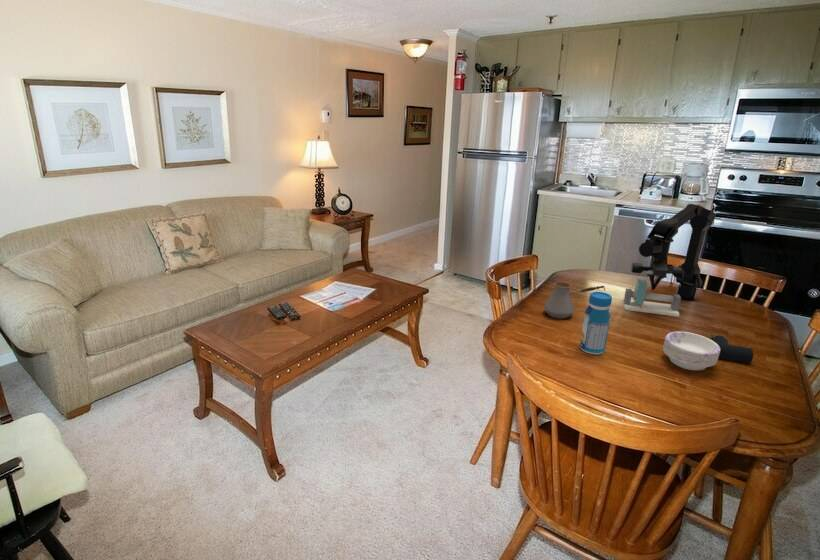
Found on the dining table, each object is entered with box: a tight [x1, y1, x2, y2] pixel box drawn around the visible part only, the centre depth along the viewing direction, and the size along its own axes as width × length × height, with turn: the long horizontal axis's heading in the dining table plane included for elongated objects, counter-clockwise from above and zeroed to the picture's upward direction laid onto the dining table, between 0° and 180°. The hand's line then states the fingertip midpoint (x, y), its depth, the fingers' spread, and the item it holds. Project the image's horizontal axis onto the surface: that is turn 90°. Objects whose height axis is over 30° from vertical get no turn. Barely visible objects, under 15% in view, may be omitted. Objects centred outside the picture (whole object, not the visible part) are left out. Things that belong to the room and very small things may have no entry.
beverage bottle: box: [579, 291, 613, 355], centre depth 151 cm, size 8×8×20 cm
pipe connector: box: [709, 332, 754, 364], centre depth 153 cm, size 12×5×15 cm
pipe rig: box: [622, 288, 682, 318], centre depth 188 cm, size 20×10×7 cm, turn 71°
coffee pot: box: [544, 281, 606, 319], centre depth 177 cm, size 21×12×15 cm, turn 64°
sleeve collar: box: [633, 278, 648, 305], centre depth 188 cm, size 3×6×9 cm, turn 161°
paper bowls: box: [662, 331, 720, 371], centre depth 145 cm, size 15×15×8 cm
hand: (652, 289), depth 186 cm, fingers closed
